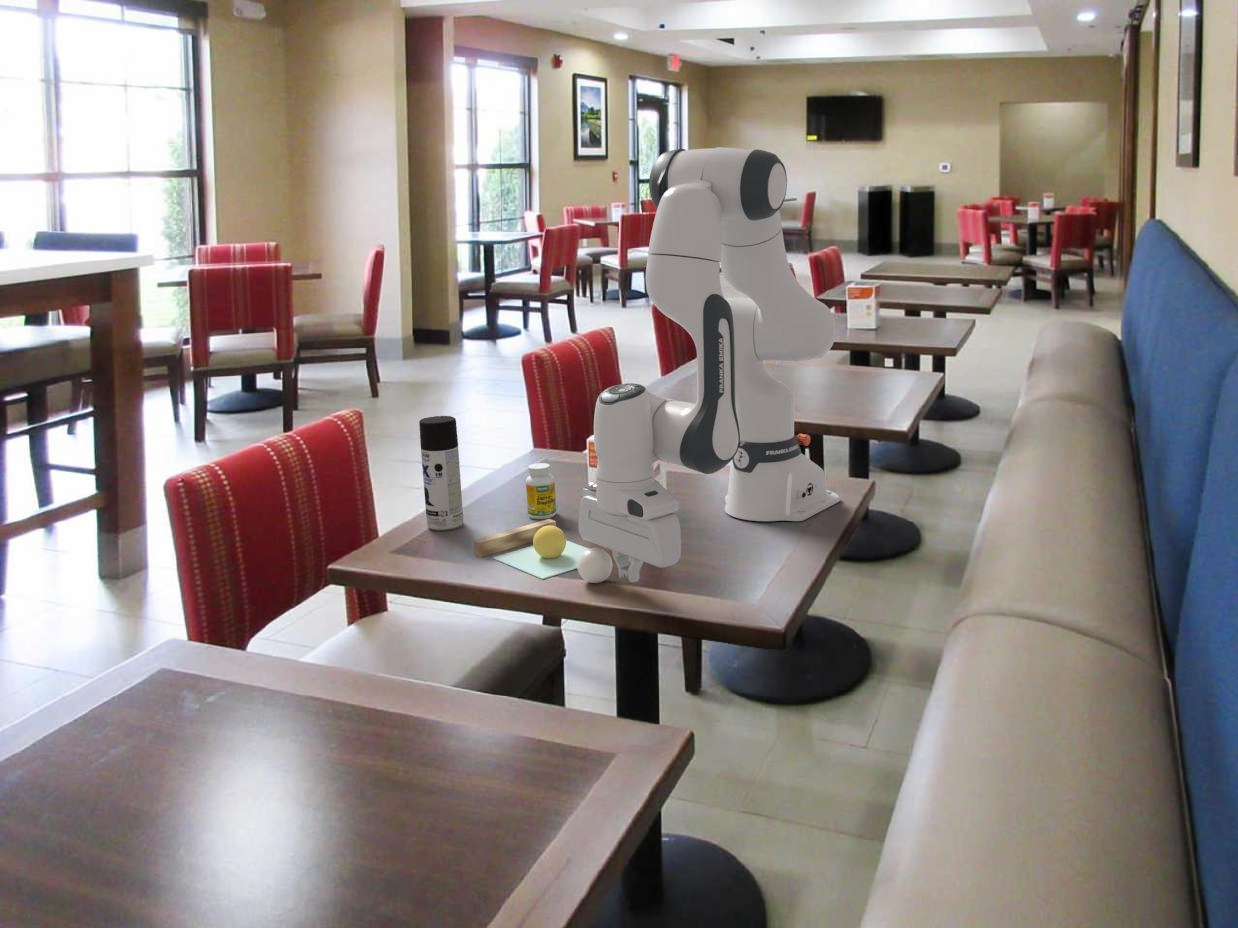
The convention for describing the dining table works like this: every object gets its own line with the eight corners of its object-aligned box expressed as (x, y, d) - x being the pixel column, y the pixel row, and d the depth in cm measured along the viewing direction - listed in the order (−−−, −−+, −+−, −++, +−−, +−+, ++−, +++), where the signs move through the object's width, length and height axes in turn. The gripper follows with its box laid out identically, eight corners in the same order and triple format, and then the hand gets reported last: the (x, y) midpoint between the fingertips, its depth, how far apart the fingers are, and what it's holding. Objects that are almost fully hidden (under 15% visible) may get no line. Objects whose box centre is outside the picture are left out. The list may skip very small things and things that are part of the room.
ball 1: (569, 522, 193) (575, 554, 193) (550, 521, 197) (556, 553, 198) (542, 529, 189) (548, 562, 190) (524, 529, 194) (529, 561, 194)
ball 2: (616, 546, 180) (621, 572, 184) (588, 536, 183) (593, 562, 187) (596, 568, 177) (601, 594, 180) (567, 557, 180) (573, 583, 183)
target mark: (559, 538, 203) (558, 537, 203) (610, 557, 193) (610, 556, 193) (492, 558, 195) (492, 557, 195) (542, 579, 184) (542, 578, 184)
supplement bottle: (547, 509, 220) (544, 460, 218) (562, 515, 216) (559, 466, 213) (522, 514, 217) (519, 465, 215) (536, 521, 213) (533, 471, 211)
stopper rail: (549, 532, 207) (549, 518, 206) (556, 534, 205) (555, 521, 205) (474, 554, 197) (473, 540, 196) (480, 557, 196) (479, 543, 195)
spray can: (423, 523, 215) (414, 417, 209) (458, 517, 217) (450, 413, 212) (432, 533, 209) (423, 425, 203) (468, 527, 211) (460, 420, 206)
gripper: (566, 484, 181) (571, 567, 184) (654, 511, 165) (657, 602, 169) (598, 475, 185) (602, 558, 188) (687, 502, 169) (689, 590, 173)
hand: (629, 579), depth 179 cm, fingers closed
